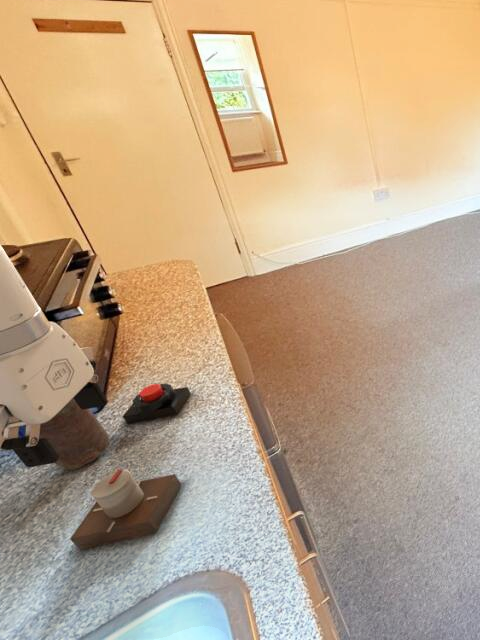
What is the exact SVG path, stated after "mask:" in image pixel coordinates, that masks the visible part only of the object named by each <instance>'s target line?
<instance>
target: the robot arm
mask: <svg viewBox="0 0 480 640" xmlns="http://www.w3.org/2000/svg"><path fill="white" fill-rule="evenodd" d="M94 355H95V354H94V348H93V347H92V346H86V347H80V346H79V345H78V343H77V342H76V341H75V340H74V339H73V338H72V337H71V336H70V335H69V333H68V332H67V331H66V330H64V328H62V327H61V326H60V325H58V324H57V323H56V322H55V321H49V320H48V318H47V316H46V315H45V313H44V312H43V310H42V308H41V307H40V306H39V304H38V303H37V301H36V299H35V297H34V296H33V294H32V293H31V290H30V289H29V288H28V286H27V285H26V283H25V281H24V280H23V278H22V277H21V274H20V273H19V272H18V270H17V268H16V267H15V266H14V264H13V262H12V260H11V259H10V257H9V256H8V253H6V251H5V249H4V248H3V246H2V245H1V244H0V452H7V451H13V452H14V453H15V454H16V456H17V457H18V458H19V460H20V461H21V462H22V464H23V465H24V466H25V467H26V468H34V467H41V466H45V465H50V464H55V463H56V462H57V460H58V459H59V455H58V454H57V452H56V451H55V450H54V448H53V447H52V446H51V444H50V443H49V442H48V440H47V439H46V438H39V433H40V424H41V423H45V422H47V421H49V420H50V419H52V418H53V417H54V416H55V415H56V414H57V413H58V412H59V411H60V410H61V409H62V408H63V407H64V406H65V405H66V404H67V403H68V402H69V401H70V400H71V399H72V398H74V400H75V401H76V403H77V404H78V406H79V407H80V409H90V410H91V409H95V408H103V407H105V406H107V405H108V403H109V400H108V398H107V397H106V395H105V393H104V392H103V391H102V389H101V387H100V385H99V384H98V383H97V382H98V381H99V376H98V374H96V368H97V362H96V361H95V356H94ZM20 427H25V434H24V436H21V437H19V431H20Z"/></svg>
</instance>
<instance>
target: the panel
mask: <svg viewBox="0 0 480 640" xmlns="http://www.w3.org/2000/svg"><path fill="white" fill-rule="evenodd" d="M136 482H137V484H138V485H139V487H140V488H141V490H142V491H143V493H144V497H143V499H142V501H141V502H140V504H139V505H138V506H137V507H136V508H135V509H133V510H132V511H130V512H129V513H127V514H125V515H123V516H121V517H117V518H110V517H108V516H107V514H106V513H105V512H104V510H103V509H102V508H101V506H100V505H99V504H98V503H97V501H96V500H95V503H94V504H93V505H92V506H91V508H90V509H89V511H88V512H87V514H86V516H85V517H84V519H83V520H82V521H81V523H79V525H78V526H77V528H76V530H75V531H74V532H73V534H72V536H71V537H70V538H69V540H70V541H71V542H72V543H73V544H74V546H75V547H76V548H77V549H78V550H79V551H83V550H84V551H85V550H87V549H88V550H89V549H93V548H97V547H100V546H105V545H110V544H114V543H117V542H123V541H127V540H130V539H135V538H139V537H143V536H148V535H151V534H152V535H153V534H156V533H158V531H159V529H160V527H161V525H162V523H163V522H164V520H165V517H166V516H167V514H168V511H169V510H170V508H171V506H172V504H173V503H174V501H175V499H176V497H177V495H178V493H179V491H180V489H181V487H182V484H181V481H180V480H179V478H178V476H177V475H176V473H174V474H168V475H164V476H163V475H162V476H159V477H154V478H148V479H144V478H142V477H141V478H140V479H138V481H136Z"/></svg>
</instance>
